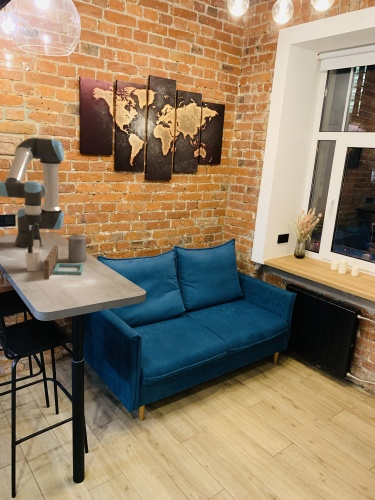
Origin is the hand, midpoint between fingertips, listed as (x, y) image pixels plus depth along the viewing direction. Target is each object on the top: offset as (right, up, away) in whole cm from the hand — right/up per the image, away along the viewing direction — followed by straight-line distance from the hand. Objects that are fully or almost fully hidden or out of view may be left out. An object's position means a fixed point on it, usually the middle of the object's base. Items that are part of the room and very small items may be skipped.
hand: (33, 255), depth 186 cm
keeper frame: (+16, -8, +5) cm, 19 cm away
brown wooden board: (+8, -7, +4) cm, 11 cm away
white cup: (-1, -7, +2) cm, 8 cm away
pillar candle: (+15, -3, +23) cm, 28 cm away
